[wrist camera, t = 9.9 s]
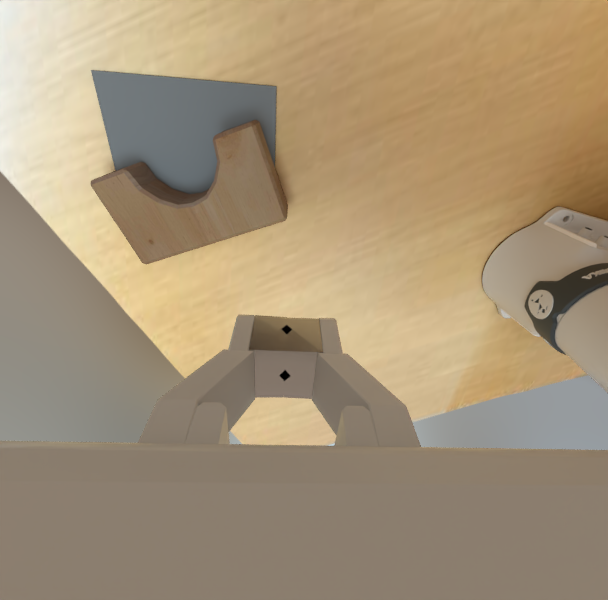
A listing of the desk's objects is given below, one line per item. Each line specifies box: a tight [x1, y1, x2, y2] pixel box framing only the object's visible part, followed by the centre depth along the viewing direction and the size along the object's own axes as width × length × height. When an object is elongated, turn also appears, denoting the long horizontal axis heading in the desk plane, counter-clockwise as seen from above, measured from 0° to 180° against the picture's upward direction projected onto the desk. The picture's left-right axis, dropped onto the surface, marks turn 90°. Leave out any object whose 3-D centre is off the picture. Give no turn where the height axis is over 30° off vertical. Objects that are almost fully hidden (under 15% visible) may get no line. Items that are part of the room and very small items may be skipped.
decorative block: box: [91, 120, 288, 264], centre depth 38 cm, size 11×6×20 cm
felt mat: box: [91, 70, 276, 194], centre depth 38 cm, size 20×14×1 cm
